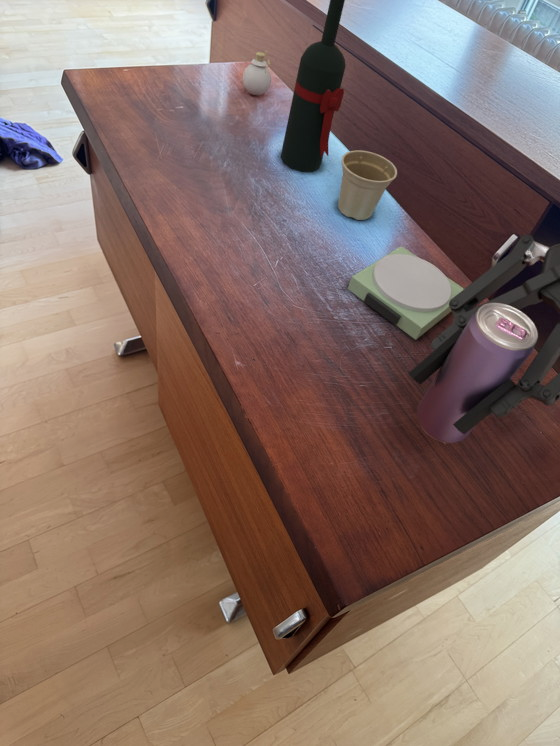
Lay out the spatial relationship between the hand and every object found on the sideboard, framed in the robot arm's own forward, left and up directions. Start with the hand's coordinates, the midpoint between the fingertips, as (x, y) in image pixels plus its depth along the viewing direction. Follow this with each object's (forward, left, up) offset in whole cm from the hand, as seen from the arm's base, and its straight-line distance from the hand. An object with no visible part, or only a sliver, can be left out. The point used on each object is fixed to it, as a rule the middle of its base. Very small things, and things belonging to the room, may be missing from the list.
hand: (436, 403), depth 55 cm
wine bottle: (+51, -42, -14) cm, 67 cm away
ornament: (+75, -53, -14) cm, 93 cm away
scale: (+17, -28, -14) cm, 35 cm away
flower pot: (+36, -39, -14) cm, 55 cm away
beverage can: (-1, -4, -6) cm, 7 cm away
